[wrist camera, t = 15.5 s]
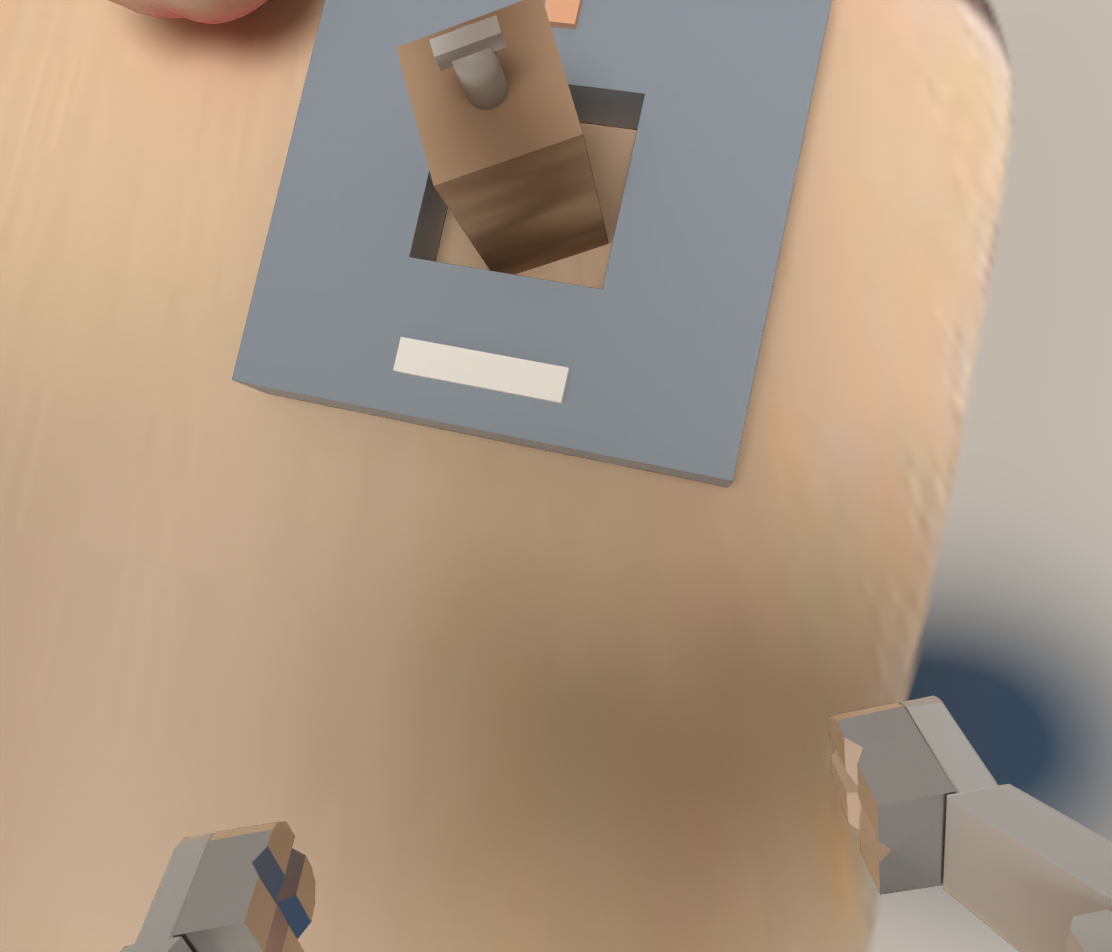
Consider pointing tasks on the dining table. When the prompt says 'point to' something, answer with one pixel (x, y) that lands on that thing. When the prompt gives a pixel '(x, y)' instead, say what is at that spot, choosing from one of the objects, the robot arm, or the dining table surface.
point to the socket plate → (529, 303)
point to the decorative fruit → (194, 9)
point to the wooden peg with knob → (505, 137)
